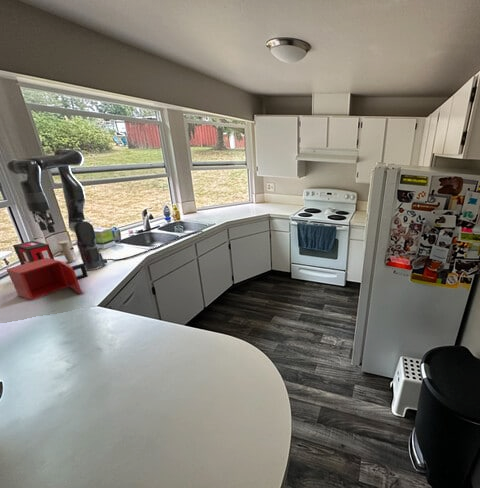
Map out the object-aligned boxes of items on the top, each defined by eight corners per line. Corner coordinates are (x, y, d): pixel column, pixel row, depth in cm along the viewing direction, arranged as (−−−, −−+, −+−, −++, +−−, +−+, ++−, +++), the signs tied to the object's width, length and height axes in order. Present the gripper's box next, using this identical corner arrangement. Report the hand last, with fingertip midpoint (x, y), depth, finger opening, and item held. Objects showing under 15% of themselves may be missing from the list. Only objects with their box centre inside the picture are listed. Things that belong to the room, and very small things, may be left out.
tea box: (88, 247, 201) (82, 230, 196) (101, 243, 210) (95, 226, 205) (104, 249, 199) (99, 231, 194) (116, 244, 208) (111, 227, 203)
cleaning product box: (59, 273, 159) (48, 244, 152) (40, 279, 151) (28, 249, 144) (44, 269, 164) (33, 240, 157) (25, 275, 156) (12, 245, 149)
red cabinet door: (83, 281, 150) (74, 258, 145) (94, 289, 143) (86, 264, 137) (68, 286, 145) (59, 261, 139) (80, 294, 137) (70, 268, 132)
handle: (65, 264, 172) (57, 243, 167) (66, 261, 177) (59, 241, 171) (75, 262, 175) (67, 242, 170) (76, 259, 180) (69, 239, 174)
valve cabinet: (69, 286, 146) (59, 261, 140) (31, 300, 131) (19, 273, 126) (56, 282, 149) (46, 257, 144) (18, 295, 135) (6, 269, 129)
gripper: (53, 201, 127) (64, 231, 133) (40, 198, 132) (51, 227, 138) (32, 203, 121) (45, 235, 126) (19, 200, 126) (31, 231, 132)
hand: (48, 231), depth 132 cm, fingers open, 8 cm apart
